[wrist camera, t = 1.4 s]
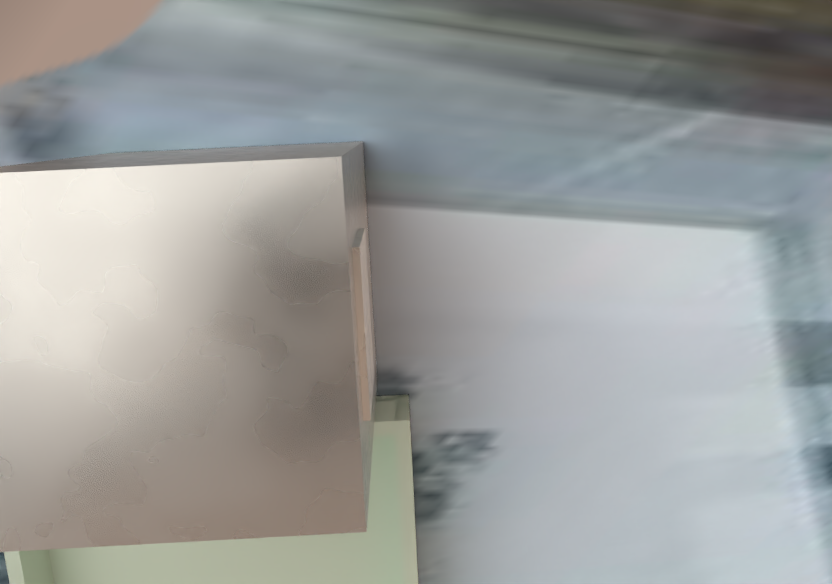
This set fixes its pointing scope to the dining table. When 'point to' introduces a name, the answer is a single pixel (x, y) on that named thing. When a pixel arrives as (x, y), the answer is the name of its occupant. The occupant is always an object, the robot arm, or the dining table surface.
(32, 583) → the tray
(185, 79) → the dining table surface
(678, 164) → the dining table surface
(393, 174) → the dining table surface
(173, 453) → the light grey labelled box
